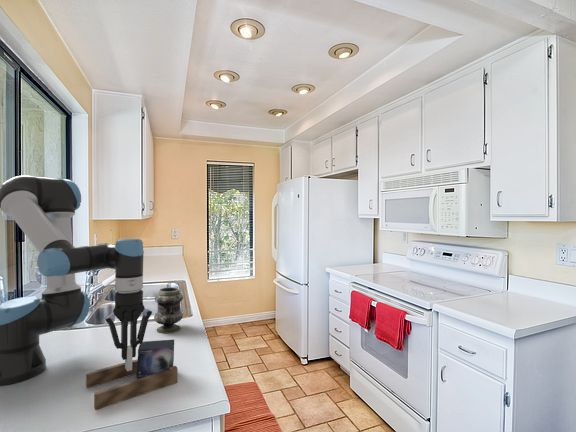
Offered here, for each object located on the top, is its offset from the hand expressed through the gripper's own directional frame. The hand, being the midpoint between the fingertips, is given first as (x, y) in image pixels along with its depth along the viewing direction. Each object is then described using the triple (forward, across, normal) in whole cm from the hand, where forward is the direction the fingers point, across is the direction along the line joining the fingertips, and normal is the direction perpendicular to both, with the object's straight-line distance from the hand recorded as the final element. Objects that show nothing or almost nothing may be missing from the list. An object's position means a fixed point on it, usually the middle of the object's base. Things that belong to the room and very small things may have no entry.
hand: (128, 368), depth 97 cm
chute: (+5, +1, +1) cm, 5 cm away
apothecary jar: (+5, +26, +40) cm, 48 cm away
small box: (+5, +8, +1) cm, 10 cm away
